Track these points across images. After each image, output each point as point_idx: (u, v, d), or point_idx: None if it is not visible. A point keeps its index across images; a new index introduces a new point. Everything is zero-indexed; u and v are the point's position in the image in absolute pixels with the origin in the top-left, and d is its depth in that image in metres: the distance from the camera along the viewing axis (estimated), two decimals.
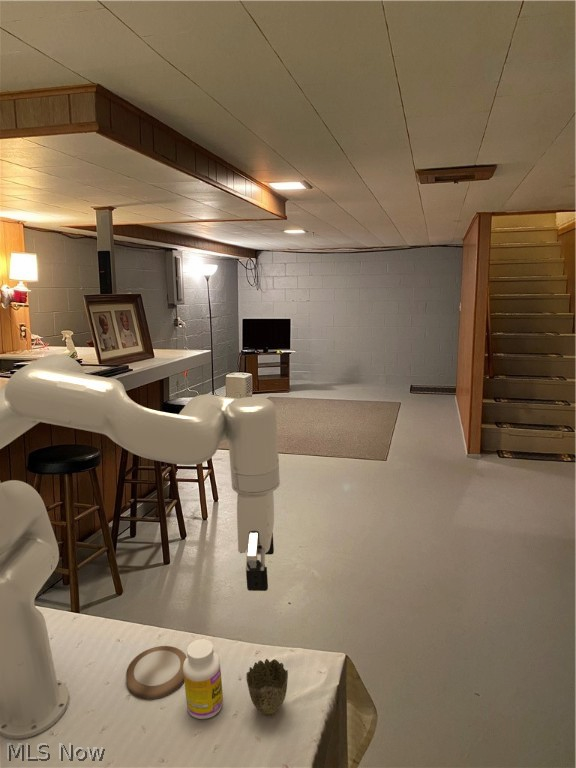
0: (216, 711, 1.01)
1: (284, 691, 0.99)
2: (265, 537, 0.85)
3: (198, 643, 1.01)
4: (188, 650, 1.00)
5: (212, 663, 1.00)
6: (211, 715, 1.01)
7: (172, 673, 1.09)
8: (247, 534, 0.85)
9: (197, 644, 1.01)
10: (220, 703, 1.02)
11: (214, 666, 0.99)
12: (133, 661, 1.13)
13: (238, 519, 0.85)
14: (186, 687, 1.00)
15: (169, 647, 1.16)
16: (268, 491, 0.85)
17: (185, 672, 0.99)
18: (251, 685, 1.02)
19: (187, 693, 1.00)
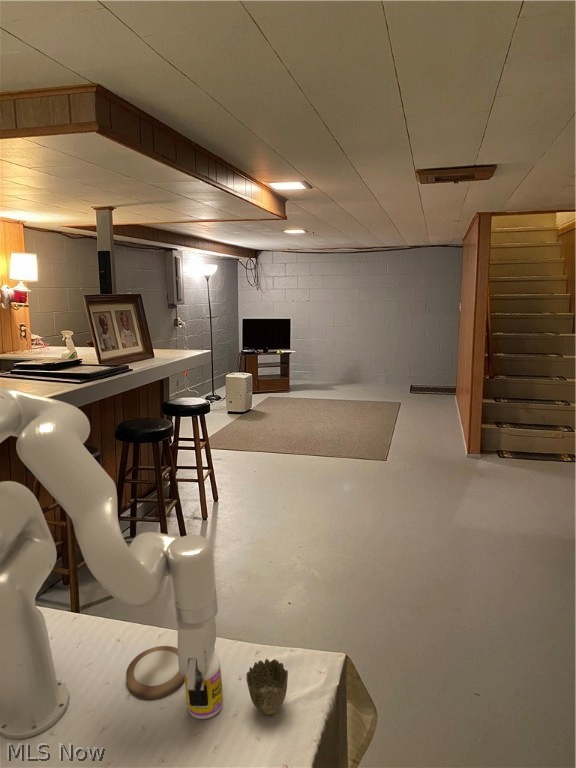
0: (216, 711, 1.01)
1: (284, 691, 0.99)
2: (202, 663, 0.95)
3: None
4: None
5: (212, 663, 1.00)
6: (211, 715, 1.01)
7: (172, 673, 1.09)
8: (186, 661, 0.95)
9: None
10: (220, 703, 1.02)
11: (214, 666, 0.99)
12: (133, 661, 1.13)
13: (178, 647, 0.95)
14: None
15: (169, 647, 1.16)
16: (205, 622, 0.95)
17: None
18: (251, 685, 1.02)
19: (187, 693, 1.00)
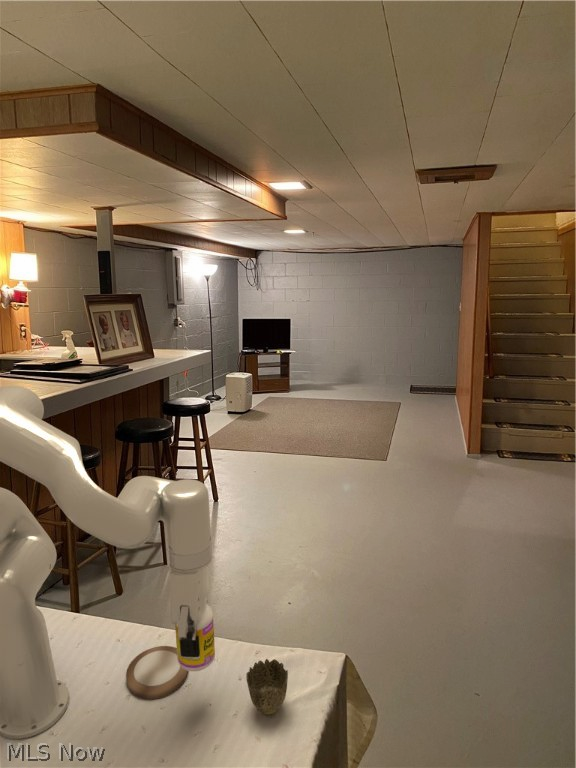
0: (207, 664, 0.98)
1: (284, 691, 0.99)
2: (195, 611, 0.92)
3: None
4: None
5: (204, 613, 0.97)
6: (202, 668, 0.98)
7: (172, 673, 1.09)
8: (178, 608, 0.92)
9: None
10: (212, 656, 0.99)
11: (207, 617, 0.96)
12: (133, 661, 1.13)
13: (170, 594, 0.91)
14: (177, 638, 0.97)
15: (169, 647, 1.16)
16: (199, 569, 0.92)
17: None
18: (251, 685, 1.02)
19: (178, 644, 0.97)
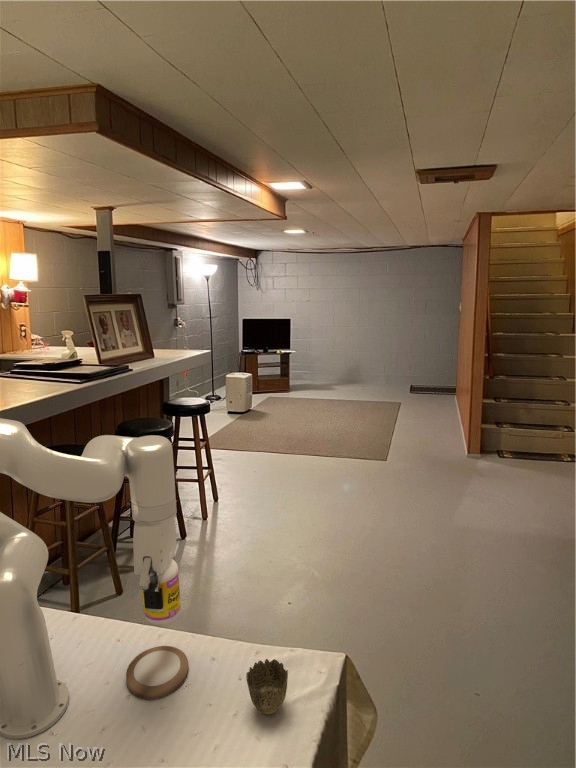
0: (172, 617, 1.01)
1: (284, 691, 0.99)
2: (157, 562, 0.95)
3: None
4: None
5: (169, 567, 0.99)
6: (166, 621, 1.00)
7: (172, 673, 1.09)
8: (141, 559, 0.94)
9: None
10: (177, 610, 1.02)
11: (171, 571, 0.99)
12: (133, 661, 1.13)
13: (134, 545, 0.94)
14: (143, 591, 1.00)
15: (169, 647, 1.16)
16: (162, 521, 0.94)
17: None
18: (251, 685, 1.02)
19: (143, 597, 1.00)
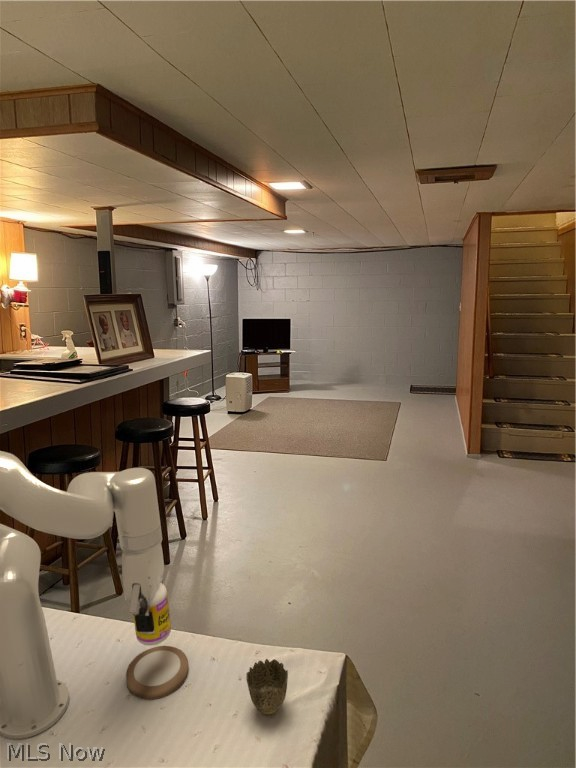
0: (163, 638, 1.06)
1: (284, 691, 0.99)
2: (146, 588, 1.00)
3: None
4: None
5: (158, 591, 1.05)
6: (158, 642, 1.05)
7: (172, 673, 1.09)
8: (131, 586, 0.99)
9: None
10: (168, 631, 1.07)
11: (160, 594, 1.04)
12: (133, 661, 1.13)
13: (123, 573, 0.99)
14: None
15: (169, 647, 1.16)
16: (148, 549, 0.99)
17: None
18: (251, 685, 1.02)
19: None
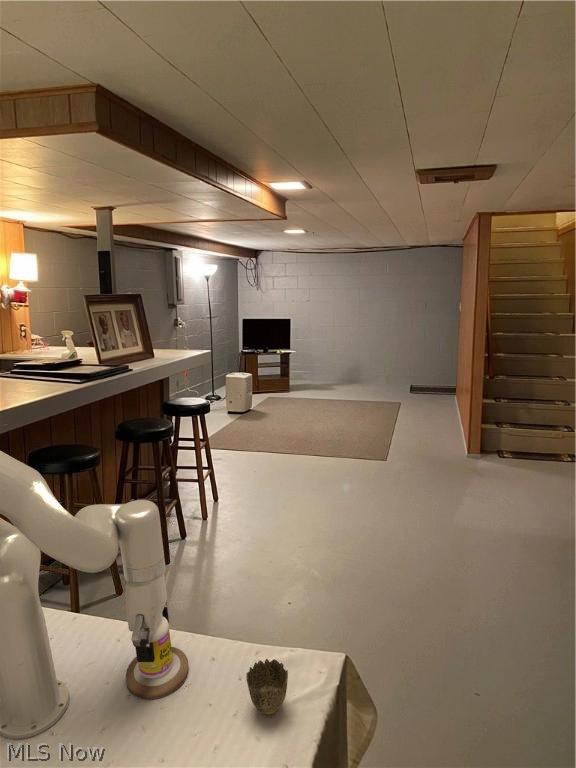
0: (165, 671, 1.08)
1: (284, 691, 0.99)
2: (149, 619, 1.01)
3: None
4: None
5: (160, 626, 1.07)
6: (160, 675, 1.08)
7: (172, 673, 1.09)
8: (134, 617, 1.01)
9: None
10: (169, 664, 1.09)
11: (162, 629, 1.06)
12: (133, 661, 1.13)
13: (127, 604, 1.01)
14: None
15: None
16: (152, 581, 1.01)
17: None
18: (251, 685, 1.02)
19: None
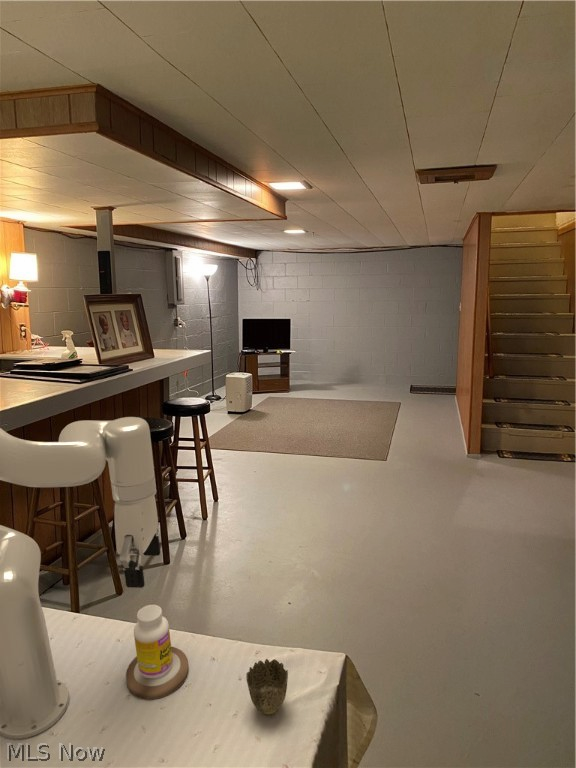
0: (164, 672, 1.08)
1: (284, 691, 0.99)
2: (139, 540, 0.97)
3: (148, 608, 1.08)
4: (138, 614, 1.07)
5: (160, 626, 1.07)
6: (159, 675, 1.08)
7: (172, 673, 1.09)
8: (123, 538, 0.97)
9: (147, 609, 1.08)
10: (169, 664, 1.09)
11: (162, 629, 1.06)
12: (133, 661, 1.13)
13: (115, 524, 0.96)
14: (136, 648, 1.07)
15: None
16: (142, 500, 0.97)
17: (135, 634, 1.06)
18: (251, 685, 1.02)
19: (137, 654, 1.07)
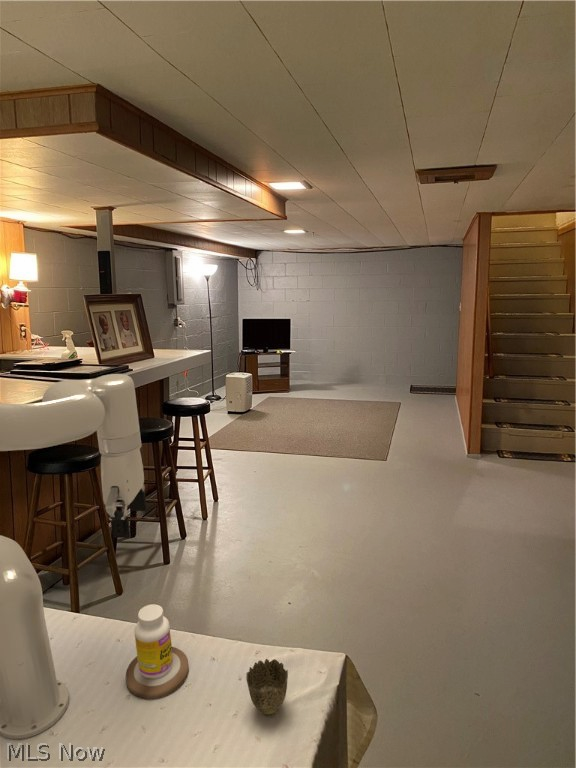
0: (164, 672, 1.08)
1: (284, 691, 0.99)
2: (124, 491, 1.01)
3: (149, 608, 1.08)
4: (139, 613, 1.07)
5: (161, 626, 1.07)
6: (159, 675, 1.08)
7: (172, 673, 1.09)
8: (109, 489, 1.01)
9: (149, 608, 1.08)
10: (169, 664, 1.09)
11: (163, 629, 1.06)
12: (133, 661, 1.13)
13: (101, 476, 1.01)
14: (137, 648, 1.07)
15: None
16: (127, 453, 1.01)
17: (135, 633, 1.06)
18: (251, 685, 1.02)
19: (137, 653, 1.07)
